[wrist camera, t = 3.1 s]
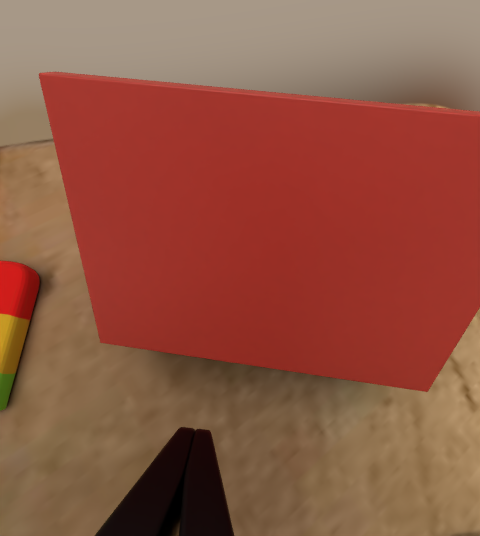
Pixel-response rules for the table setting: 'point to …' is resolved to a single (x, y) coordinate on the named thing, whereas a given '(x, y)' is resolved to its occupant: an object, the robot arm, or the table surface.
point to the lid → (272, 224)
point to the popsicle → (14, 319)
